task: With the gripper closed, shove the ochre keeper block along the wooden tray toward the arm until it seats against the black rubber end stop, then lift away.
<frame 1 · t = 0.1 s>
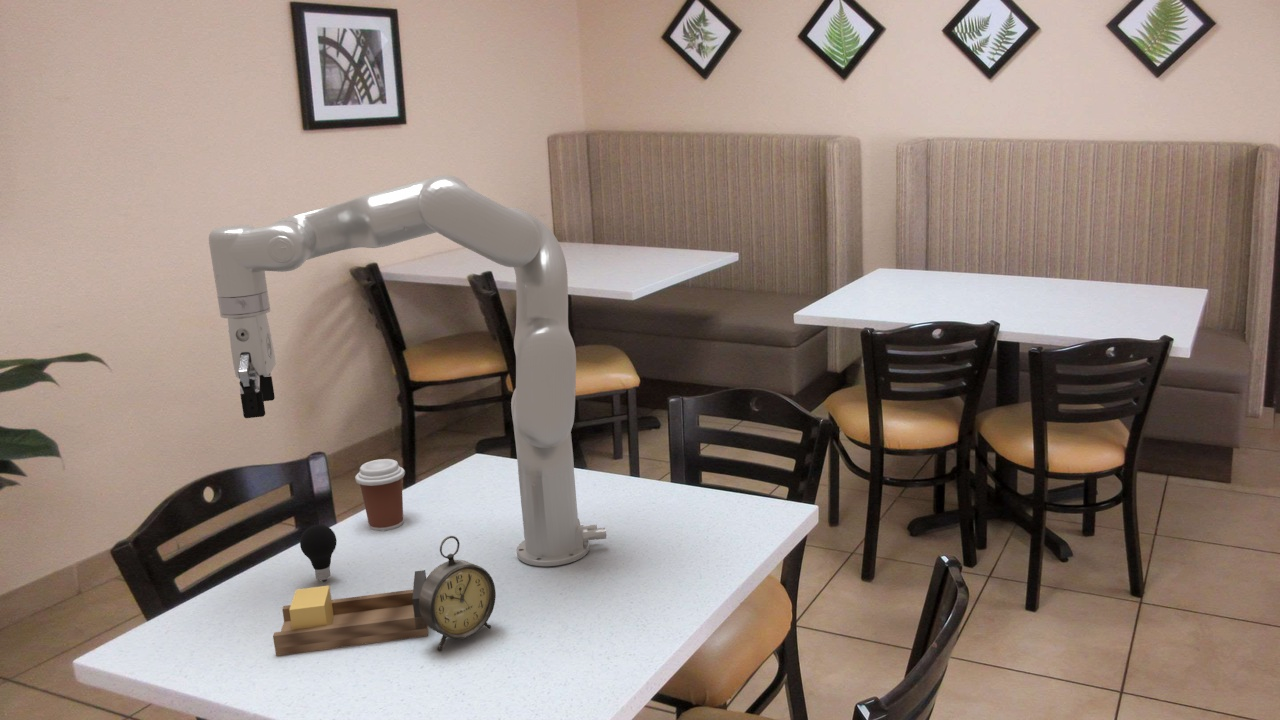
hand: (259, 408, 176), 31 cm above the table, fingers open, 9 cm apart
keeper: (311, 612, 165), point 4 cm above the table, slide at 0.0 cm
wooden tray: (355, 630, 167), on the table
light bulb: (324, 582, 185), on the table
coffee cup: (386, 525, 208), on the table
alarm clock: (460, 639, 162), on the table
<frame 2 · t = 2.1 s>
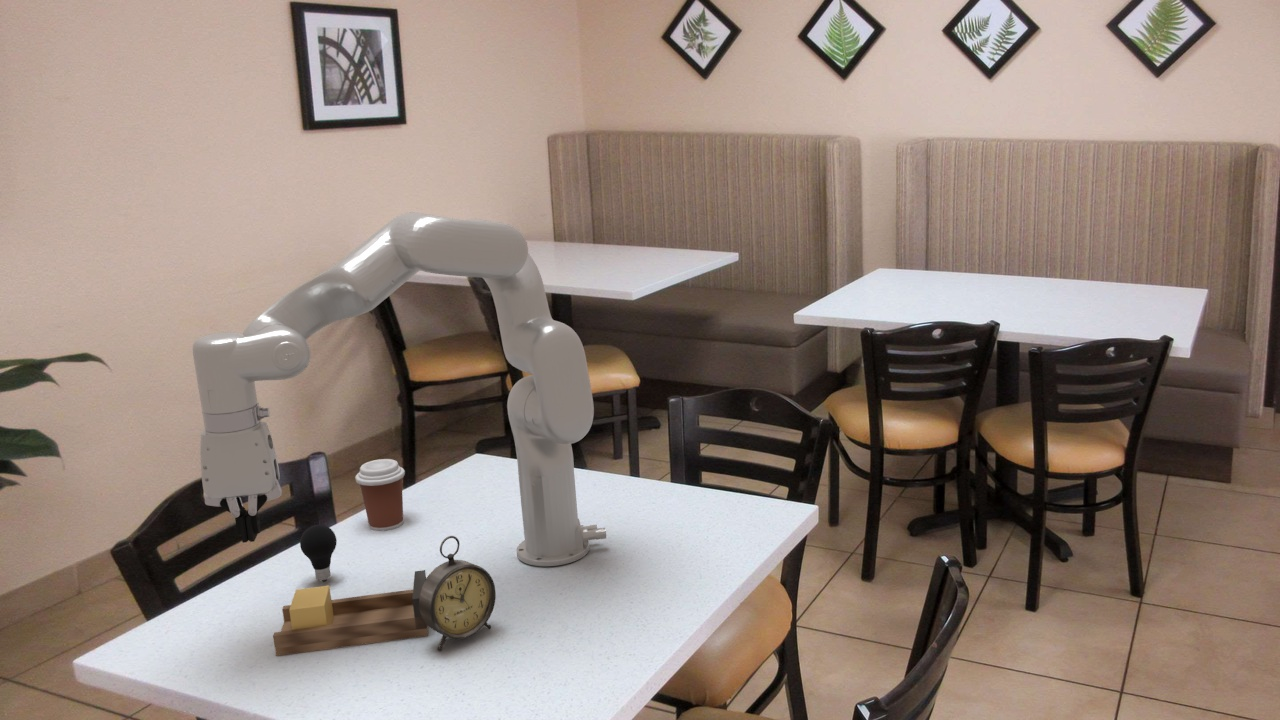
hand: (250, 538, 161), 17 cm above the table, fingers closed
nothing on the table moved.
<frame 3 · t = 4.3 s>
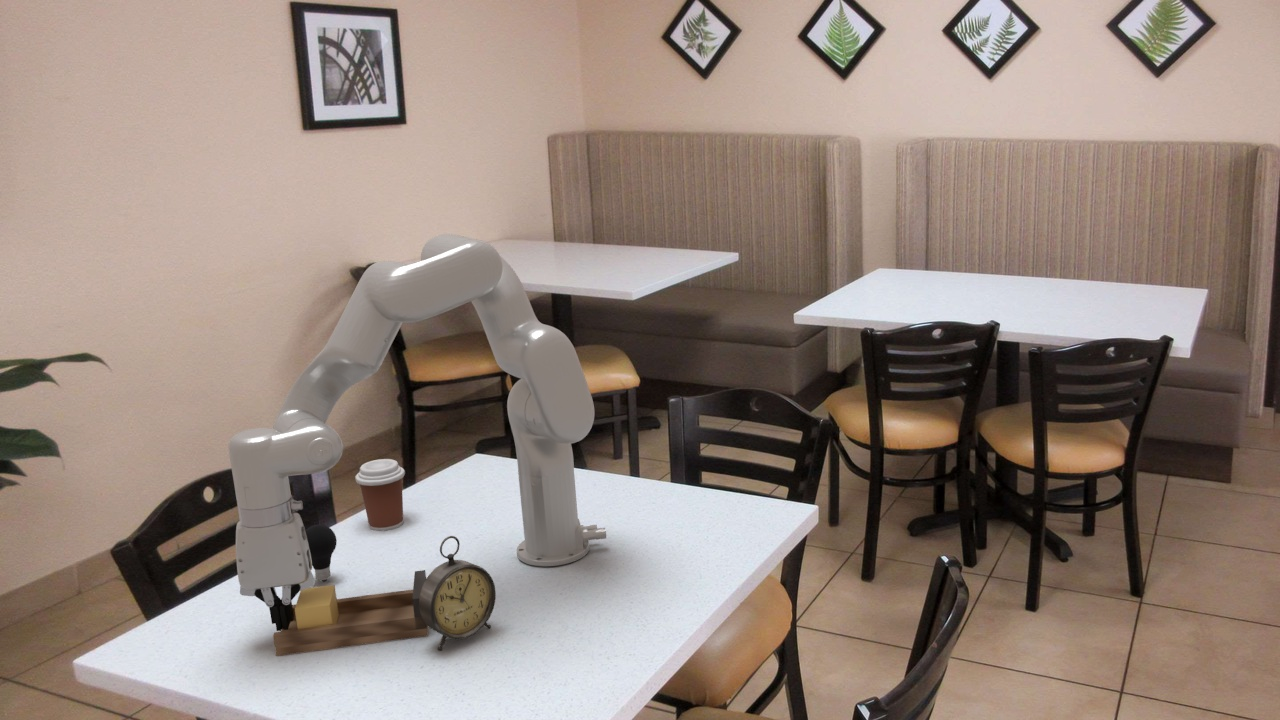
hand: (283, 626, 165), 2 cm above the table, fingers closed
keeper: (317, 611, 165), point 4 cm above the table, slide at 0.8 cm, touching gripper
everything else where it was.
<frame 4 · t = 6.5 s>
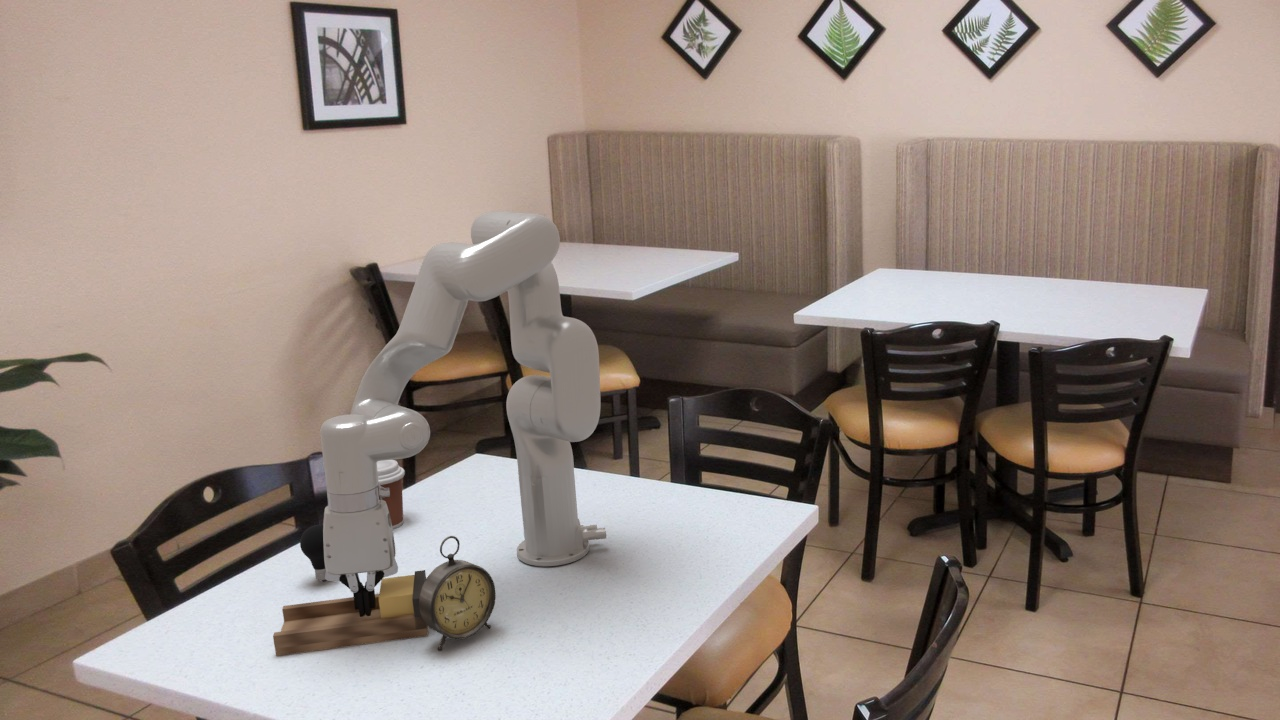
hand: (366, 612, 166), 3 cm above the table, fingers closed
keeper: (398, 601, 167), point 4 cm above the table, slide at 12.9 cm, touching gripper, wooden tray
everything else where it was.
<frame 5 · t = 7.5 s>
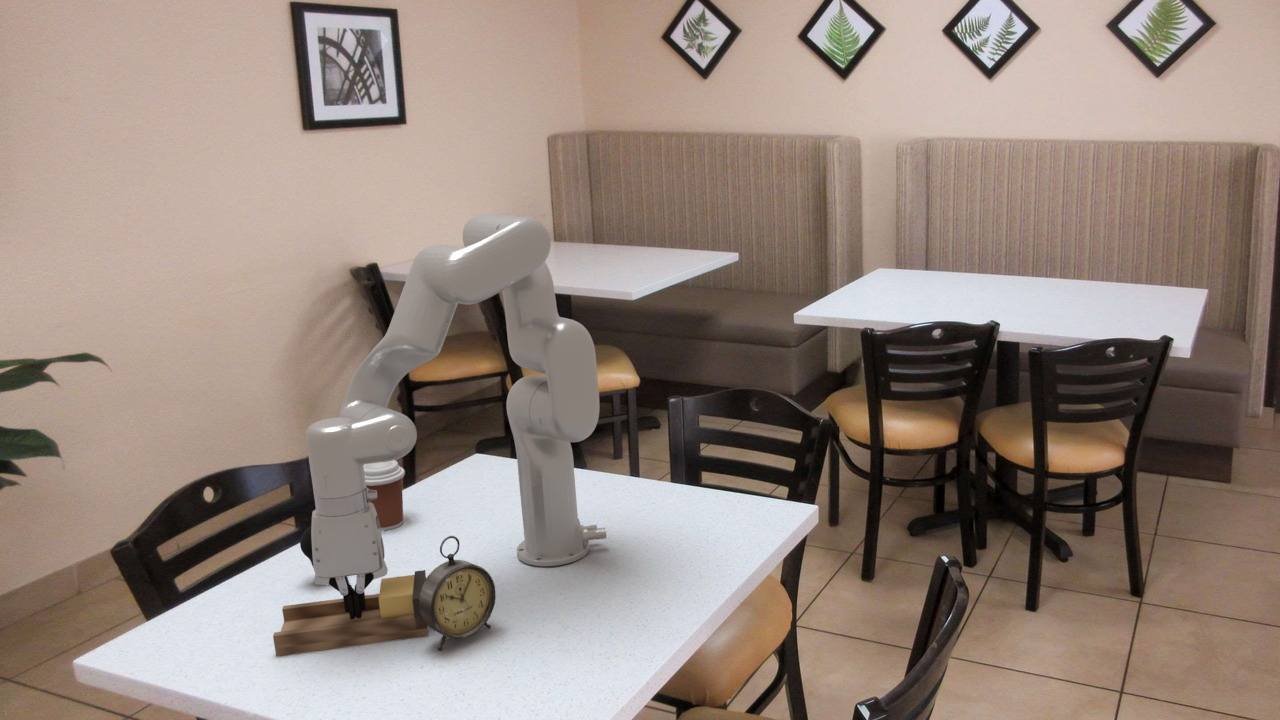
hand: (356, 614, 166), 3 cm above the table, fingers closed
keeper: (398, 601, 167), point 4 cm above the table, slide at 12.9 cm, touching wooden tray
everything else where it was.
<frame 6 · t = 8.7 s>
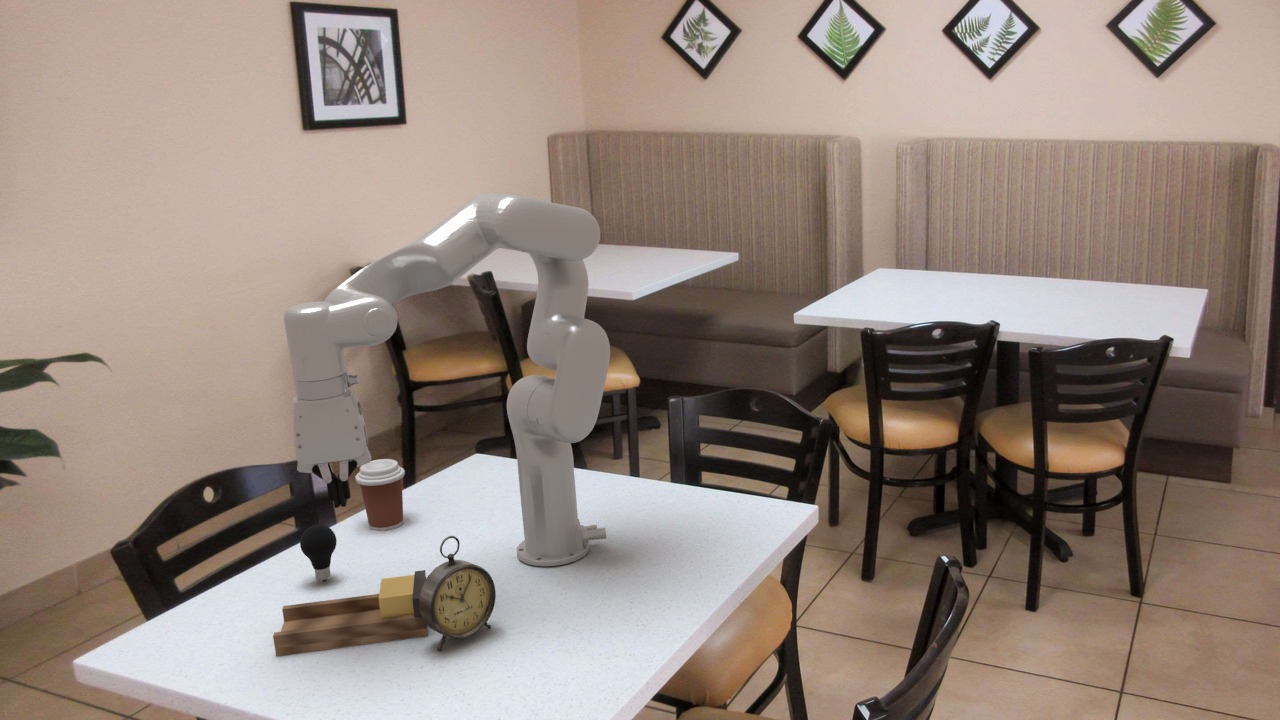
hand: (341, 503, 164), 20 cm above the table, fingers closed
nothing on the table moved.
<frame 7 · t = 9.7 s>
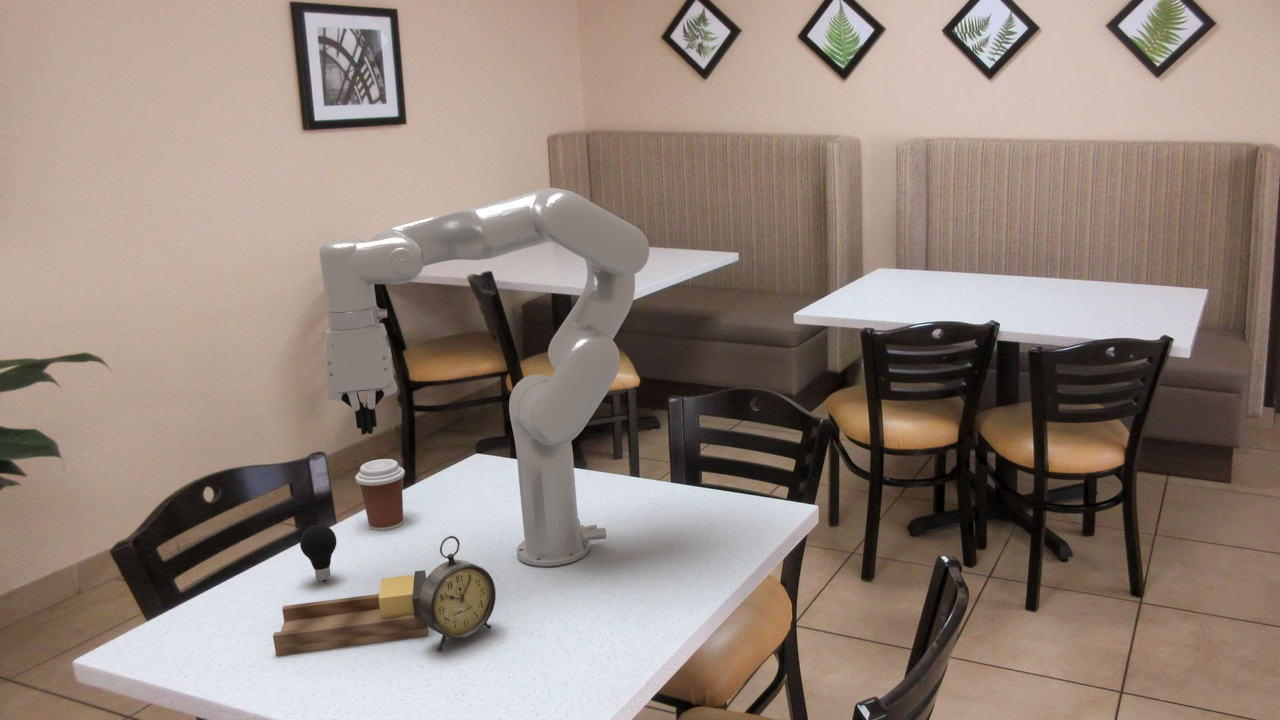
hand: (367, 431, 174), 27 cm above the table, fingers closed
nothing on the table moved.
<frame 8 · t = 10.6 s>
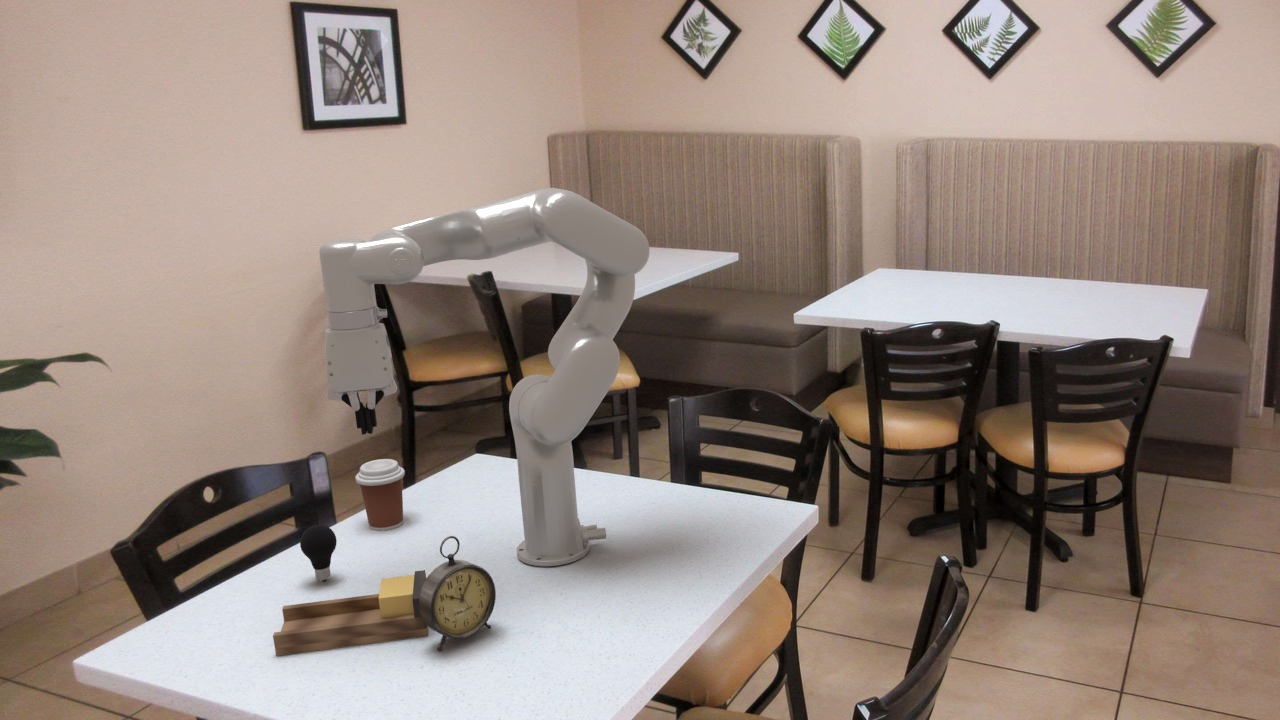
hand: (367, 431, 174), 27 cm above the table, fingers closed
nothing on the table moved.
at the end: keeper slide at 12.9 cm; the gripper is holding nothing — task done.
